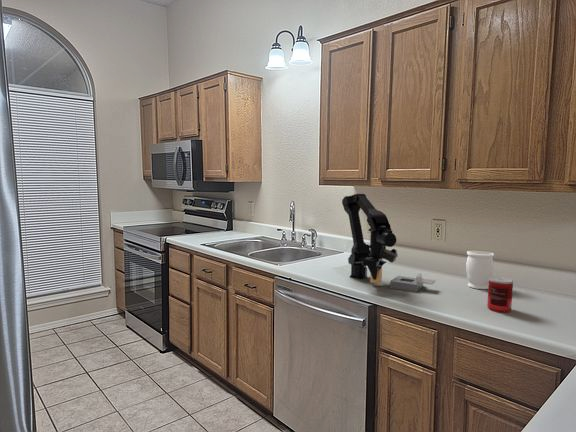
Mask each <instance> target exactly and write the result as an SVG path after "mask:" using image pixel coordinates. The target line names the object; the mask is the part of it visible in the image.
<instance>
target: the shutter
mask: <svg viewBox="0 0 576 432" xmlns="http://www.w3.org/2000/svg"><path fill="white" fill-rule="evenodd" d="M415 278H416V282H417V283H423V285H432V286H433V285H434V284H435V283H436V280H435V279H429V278H423V274H422V273H418V274H417V275H416V276H415Z"/></svg>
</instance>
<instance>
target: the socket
mask: <svg viewBox="0 0 576 432" xmlns="http://www.w3.org/2000/svg"><path fill="white" fill-rule="evenodd" d="M423 286H424V283H417V282H416V277H410V276H405V275H403V276H401V275H397V276H395V277H394V278H393V279H391V280H390V284H389V288H390V289H395V290H401V291H408V292H413V293H414V292H415V293H417V292H419V291H420V289H421V288H423Z"/></svg>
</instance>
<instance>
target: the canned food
mask: <svg viewBox="0 0 576 432" xmlns="http://www.w3.org/2000/svg"><path fill="white" fill-rule="evenodd" d="M513 288H514V281H513V280H512V279H511V278H508V277H502V276H492V277H490V278H489V284H488V289H487V303H486V305H487V308H488V309H489V310H490V311H492V312H496V313H505V314H507V313H510V312H511V310H512V305H513V304H512V303H513V302H512V301H513V290H514V289H513Z"/></svg>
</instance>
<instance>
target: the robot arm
mask: <svg viewBox="0 0 576 432" xmlns="http://www.w3.org/2000/svg"><path fill="white" fill-rule="evenodd" d="M341 204H342V206H343V210H344V211H345V213H346V214H347V215H348V219H349V224H350V230H351V237H352V242H353V245H352V246H351V247H352V248H351V250H350V251H351V254H350V255H349V257H348V258H347V260H348V261H347V262H348V264H349V265H351V267H350V268H351V269H350V275H349V278H354V279H360V280H361V279H362V280H363V279H364V278H366V277H368V270H369V272H370V276H371V275H372V277H373V279H374V280H376V277H377V272H378V268H382V269H383V266H384V265H385V264H386V263H387V261H388V262H389V263H394V262H395V261H396V259H397V258H398V253H397V249H395V248H392V247H393V246H395V245H396V243H397V237H396V235H395V233H393V230H392V227H391V224H390V222H389V219H388V217H387V215H386V214H385V213H384V212H383V211H381V210H378V209H377V208H376V207H375V206H374V205H373V204H372V202H371V201H370V200H369V199H368V198H367V195H366V194H365V193H354V194H351V195H345V196H344V197H343V198H342V200H341ZM360 210H362V212H363V213H364V214H365V215H366V222H367V224H368V226H369V227H370V228H368V232H369V233H370V235H369V236H370V238H369V239H370V241H369V242H370V243H369V244H367V243H366V242H365V241H364V235H363V234H364V233H363V229H362V223H361V218H360ZM387 247H388V248H392V249H391V250H390V249H387ZM384 260H386V261H384Z"/></svg>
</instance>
